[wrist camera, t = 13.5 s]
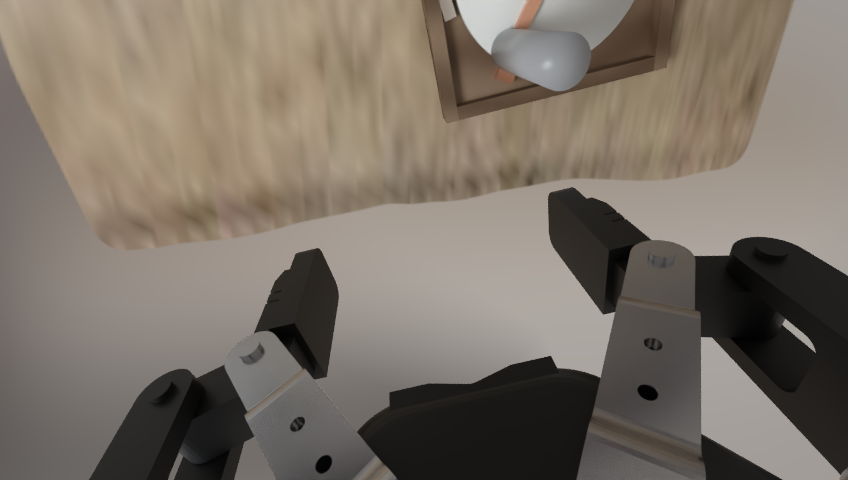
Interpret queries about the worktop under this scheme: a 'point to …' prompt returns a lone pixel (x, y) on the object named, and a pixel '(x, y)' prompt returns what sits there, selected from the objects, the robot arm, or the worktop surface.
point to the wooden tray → (497, 89)
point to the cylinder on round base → (542, 35)
